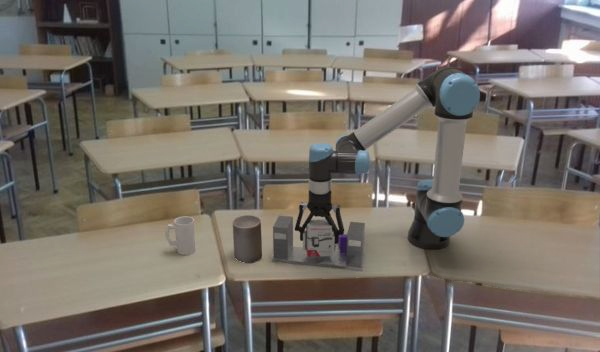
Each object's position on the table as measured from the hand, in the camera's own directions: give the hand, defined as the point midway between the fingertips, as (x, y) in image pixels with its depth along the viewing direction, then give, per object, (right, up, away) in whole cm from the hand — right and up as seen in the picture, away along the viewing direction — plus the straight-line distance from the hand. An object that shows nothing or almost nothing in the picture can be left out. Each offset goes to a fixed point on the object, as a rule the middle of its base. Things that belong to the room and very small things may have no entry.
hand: (319, 250), depth 197 cm
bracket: (+11, 0, +11) cm, 15 cm away
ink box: (0, -1, 0) cm, 1 cm away
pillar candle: (-25, -3, +3) cm, 25 cm away
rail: (0, -3, +1) cm, 4 cm away
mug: (-48, -1, +6) cm, 49 cm away
